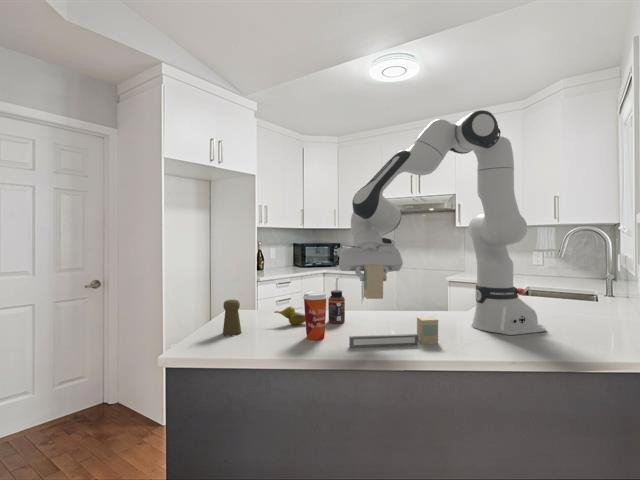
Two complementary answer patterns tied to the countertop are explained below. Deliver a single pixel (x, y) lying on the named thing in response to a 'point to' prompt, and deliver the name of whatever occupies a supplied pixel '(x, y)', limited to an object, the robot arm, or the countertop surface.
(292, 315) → the yellow toy bird
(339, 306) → the supplement bottle
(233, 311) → the cork
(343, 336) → the countertop surface
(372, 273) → the tan rectangular block
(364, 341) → the rail
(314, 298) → the paper cup
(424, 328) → the tea box
